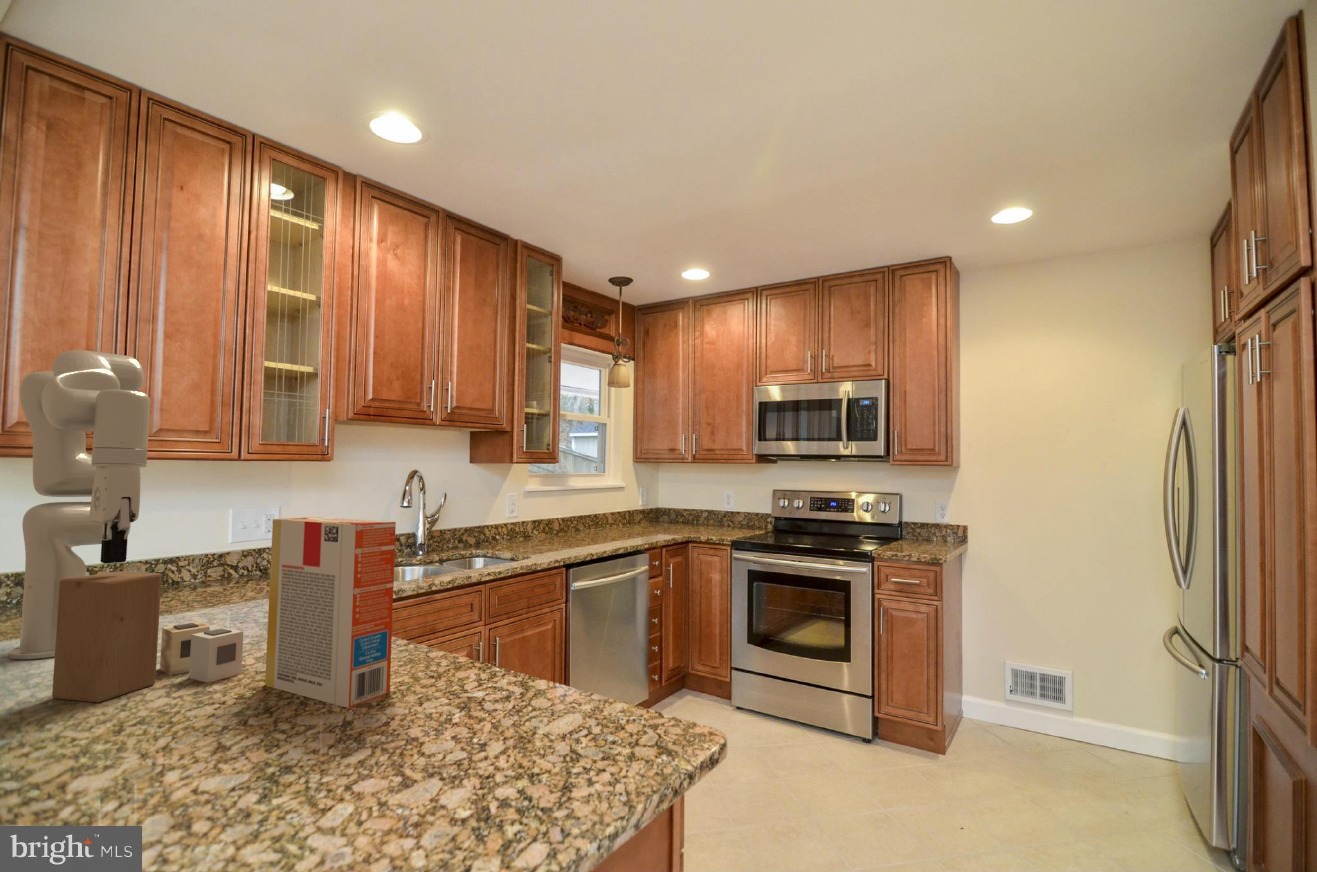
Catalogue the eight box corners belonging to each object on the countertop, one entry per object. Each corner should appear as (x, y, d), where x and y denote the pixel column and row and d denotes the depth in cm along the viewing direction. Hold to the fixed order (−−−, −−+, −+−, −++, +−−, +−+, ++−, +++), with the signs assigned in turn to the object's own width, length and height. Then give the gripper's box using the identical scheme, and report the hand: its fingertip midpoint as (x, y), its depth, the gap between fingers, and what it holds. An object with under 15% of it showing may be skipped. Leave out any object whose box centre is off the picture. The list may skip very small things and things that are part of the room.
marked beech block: (159, 669, 123) (162, 626, 124) (196, 662, 128) (198, 620, 128) (171, 675, 119) (173, 631, 120) (207, 667, 124) (210, 625, 125)
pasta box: (389, 693, 111) (395, 521, 113) (348, 708, 104) (355, 524, 106) (307, 673, 121) (314, 516, 123) (265, 685, 114) (272, 519, 116)
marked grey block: (188, 677, 118) (191, 632, 119) (222, 669, 124) (225, 626, 124) (208, 683, 115) (210, 637, 116) (242, 674, 121) (244, 630, 121)
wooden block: (97, 703, 104) (105, 581, 106) (50, 699, 106) (58, 579, 108) (156, 684, 114) (163, 572, 116) (112, 680, 116) (119, 570, 118)
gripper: (81, 458, 114) (74, 560, 113) (104, 458, 106) (97, 569, 104) (133, 459, 120) (127, 556, 119) (159, 459, 112) (153, 564, 110)
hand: (113, 562), depth 112 cm, fingers closed
